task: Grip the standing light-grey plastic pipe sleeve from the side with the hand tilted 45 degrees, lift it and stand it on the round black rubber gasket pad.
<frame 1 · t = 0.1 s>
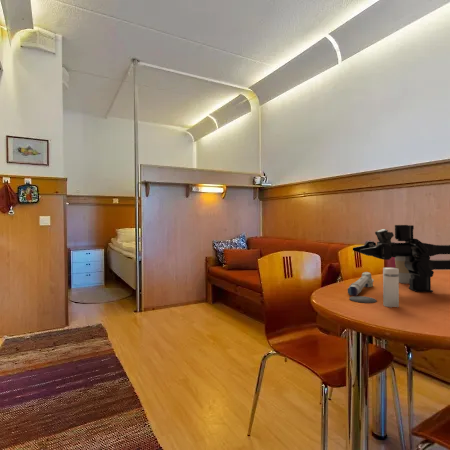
hand: (356, 250, 128), 17 cm above the table, tool horizontal, fingers open, 9 cm apart
coffee cup: (404, 282, 143), on the table
gasket pad: (362, 299, 111), on the table
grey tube: (361, 291, 128), on the table
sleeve: (390, 305, 103), on the table
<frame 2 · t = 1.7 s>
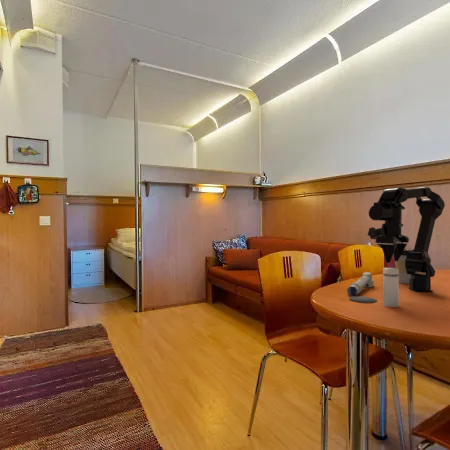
hand: (392, 261, 118), 13 cm above the table, tool pointing down, fingers open, 9 cm apart
nothing on the table moved.
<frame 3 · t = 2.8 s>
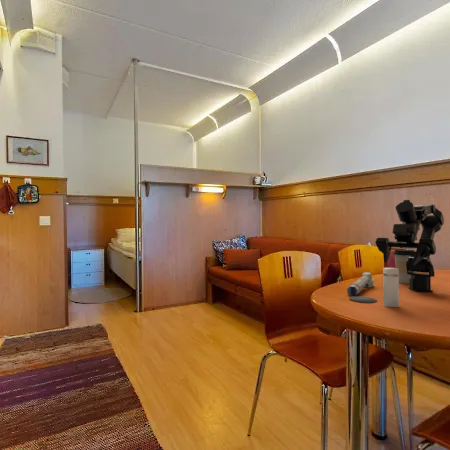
hand: (398, 263, 109), 13 cm above the table, tool tilted 45°, fingers open, 9 cm apart
nothing on the table moved.
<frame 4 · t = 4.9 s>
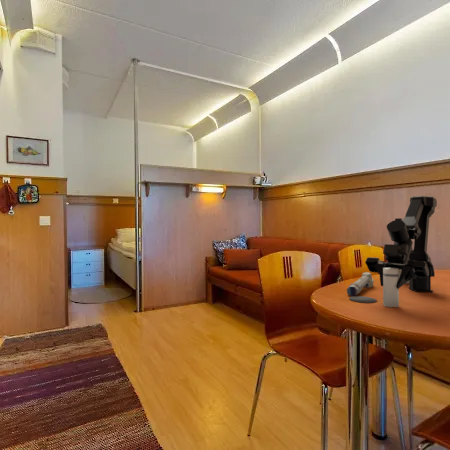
hand: (389, 286, 102), 7 cm above the table, tool tilted 45°, fingers closed on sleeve, 5 cm apart
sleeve: (390, 305, 103), on the table, touching gripper
everything else where it was.
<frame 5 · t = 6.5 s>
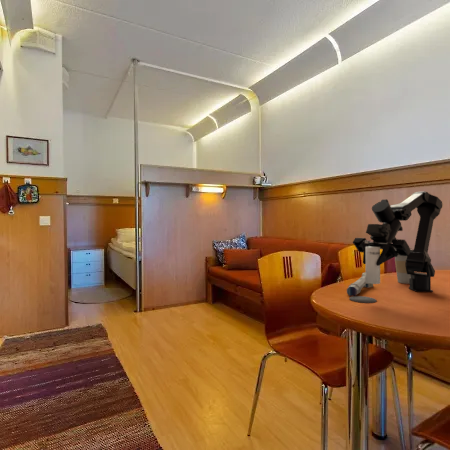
hand: (370, 264, 107), 13 cm above the table, tool tilted 45°, fingers closed on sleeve, 5 cm apart
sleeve: (372, 282, 108), point 7 cm above the table, touching gripper
everything else where it was.
when the fingers open (8 cm above the table, at t = 8.2 s): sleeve drops 1 cm, resting on gasket pad.
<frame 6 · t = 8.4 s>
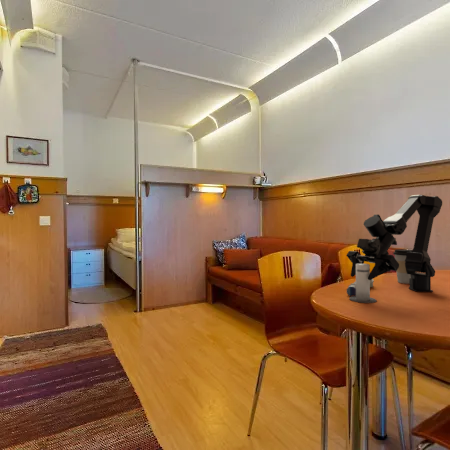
hand: (359, 277, 111), 8 cm above the table, tool tilted 45°, fingers open, 7 cm apart
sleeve: (362, 298, 111), resting on gasket pad
everything else where it was.
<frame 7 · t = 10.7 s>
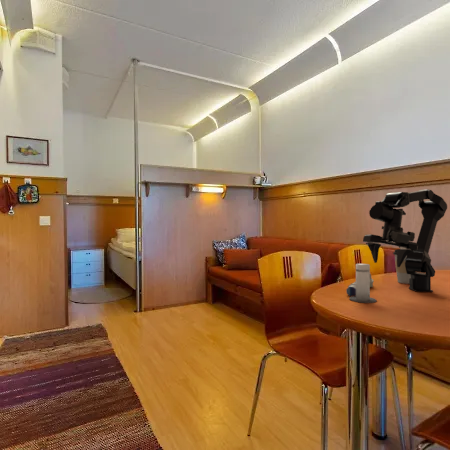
hand: (387, 264, 117), 12 cm above the table, tool pointing down, fingers open, 9 cm apart
nothing on the table moved.
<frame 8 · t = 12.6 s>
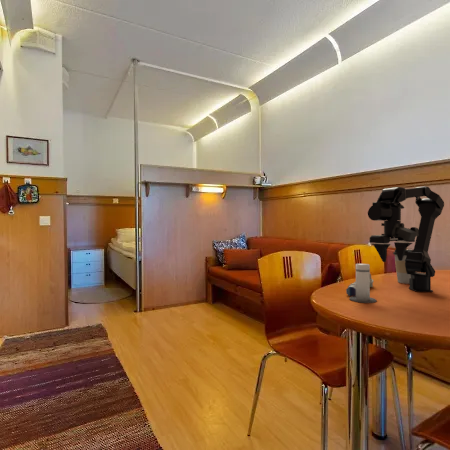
hand: (392, 261, 118), 13 cm above the table, tool pointing down, fingers open, 9 cm apart
at the end: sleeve 0.0 cm from the gasket pad (horizontally); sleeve tilted 0°; the gripper is holding nothing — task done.
